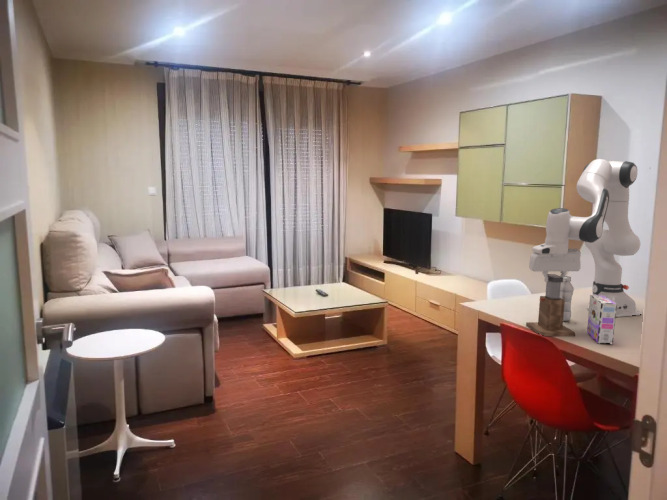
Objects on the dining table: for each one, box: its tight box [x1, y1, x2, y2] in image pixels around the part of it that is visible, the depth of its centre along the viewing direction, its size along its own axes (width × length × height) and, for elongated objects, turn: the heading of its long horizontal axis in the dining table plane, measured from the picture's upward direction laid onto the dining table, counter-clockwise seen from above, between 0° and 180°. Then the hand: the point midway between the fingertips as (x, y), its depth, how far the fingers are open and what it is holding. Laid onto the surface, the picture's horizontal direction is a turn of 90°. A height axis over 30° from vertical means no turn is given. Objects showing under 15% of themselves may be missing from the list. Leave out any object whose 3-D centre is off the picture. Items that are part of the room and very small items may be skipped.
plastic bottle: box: [560, 275, 575, 322], centre depth 223 cm, size 6×7×20 cm
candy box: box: [586, 294, 617, 344], centre depth 200 cm, size 14×6×16 cm, turn 170°
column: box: [544, 273, 563, 300], centre depth 208 cm, size 4×7×18 cm, turn 4°
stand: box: [525, 295, 576, 337], centre depth 209 cm, size 14×14×14 cm
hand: (553, 281), depth 207 cm, fingers closed on column, 4 cm apart
